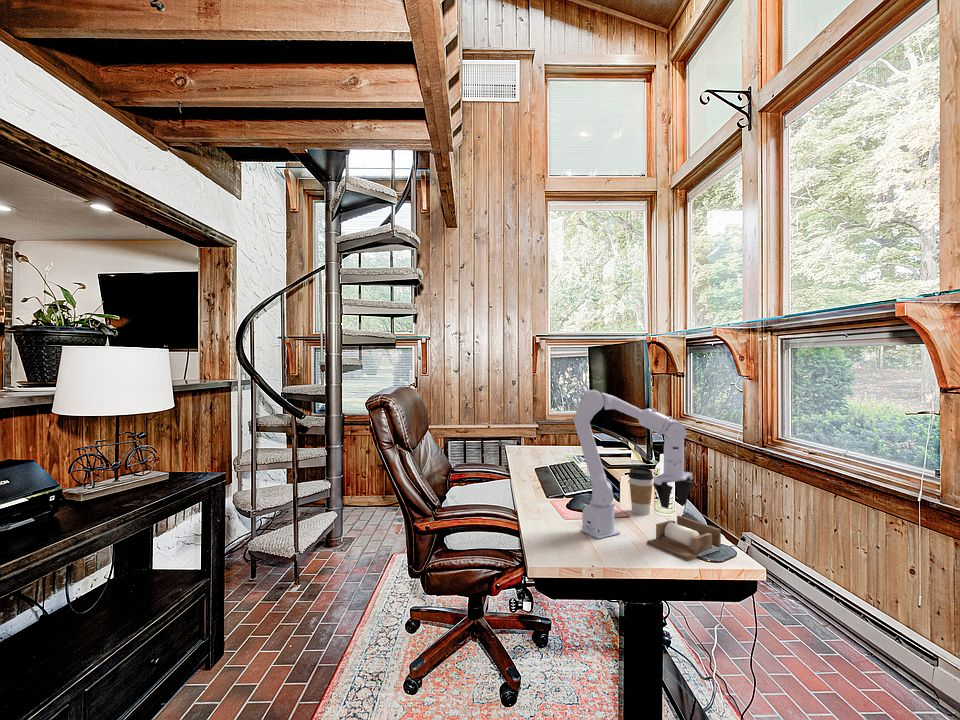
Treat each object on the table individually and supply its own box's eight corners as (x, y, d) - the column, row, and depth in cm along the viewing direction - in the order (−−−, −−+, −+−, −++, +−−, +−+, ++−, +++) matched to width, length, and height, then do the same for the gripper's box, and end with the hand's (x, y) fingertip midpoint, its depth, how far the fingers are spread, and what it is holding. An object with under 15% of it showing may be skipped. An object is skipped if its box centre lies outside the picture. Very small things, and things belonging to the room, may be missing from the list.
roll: (687, 548, 131) (691, 530, 131) (662, 538, 138) (665, 521, 139) (698, 550, 133) (702, 532, 134) (673, 540, 140) (676, 523, 141)
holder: (687, 560, 126) (688, 538, 126) (647, 543, 138) (647, 522, 138) (720, 550, 133) (720, 529, 133) (679, 535, 145) (679, 515, 145)
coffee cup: (649, 508, 171) (650, 467, 171) (656, 516, 162) (656, 472, 162) (626, 507, 172) (626, 466, 172) (631, 515, 163) (631, 472, 163)
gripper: (668, 465, 136) (667, 512, 136) (701, 460, 142) (701, 505, 142) (648, 460, 142) (648, 506, 142) (681, 456, 149) (681, 499, 149)
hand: (673, 505), depth 143 cm, fingers open, 7 cm apart
